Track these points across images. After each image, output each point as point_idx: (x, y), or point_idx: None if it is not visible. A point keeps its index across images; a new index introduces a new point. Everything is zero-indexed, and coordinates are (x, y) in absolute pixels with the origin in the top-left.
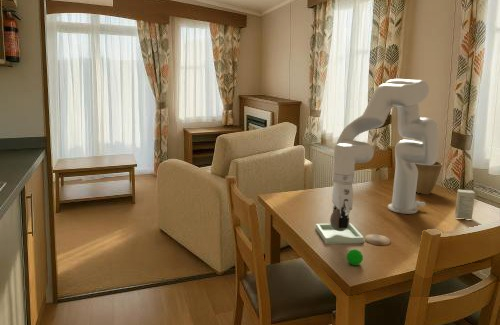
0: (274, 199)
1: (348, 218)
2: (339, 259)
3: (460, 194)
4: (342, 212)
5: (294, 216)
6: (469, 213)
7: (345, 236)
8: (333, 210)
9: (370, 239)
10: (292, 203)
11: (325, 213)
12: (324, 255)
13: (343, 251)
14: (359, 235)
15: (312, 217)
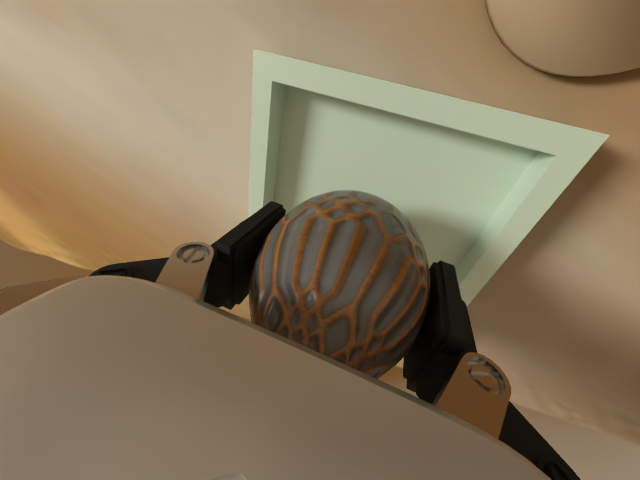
0: (7, 221)
1: (412, 269)
2: (633, 394)
3: None
4: (372, 376)
5: (140, 253)
6: None
7: (414, 206)
8: (229, 308)
9: (603, 12)
10: (11, 183)
11: (63, 92)
12: (534, 400)
13: (571, 326)
14: (532, 148)
15: (134, 194)
